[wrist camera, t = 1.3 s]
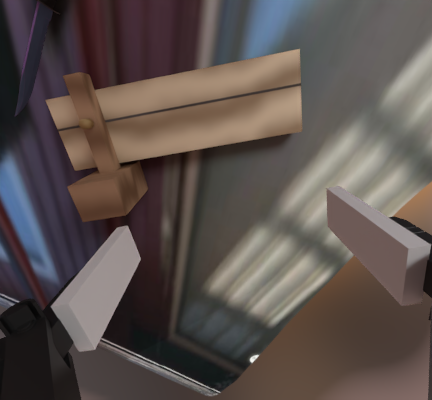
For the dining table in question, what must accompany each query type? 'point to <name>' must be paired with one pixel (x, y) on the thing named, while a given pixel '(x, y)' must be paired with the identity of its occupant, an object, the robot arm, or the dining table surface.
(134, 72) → the dining table surface
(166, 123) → the board
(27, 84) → the knife
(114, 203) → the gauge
